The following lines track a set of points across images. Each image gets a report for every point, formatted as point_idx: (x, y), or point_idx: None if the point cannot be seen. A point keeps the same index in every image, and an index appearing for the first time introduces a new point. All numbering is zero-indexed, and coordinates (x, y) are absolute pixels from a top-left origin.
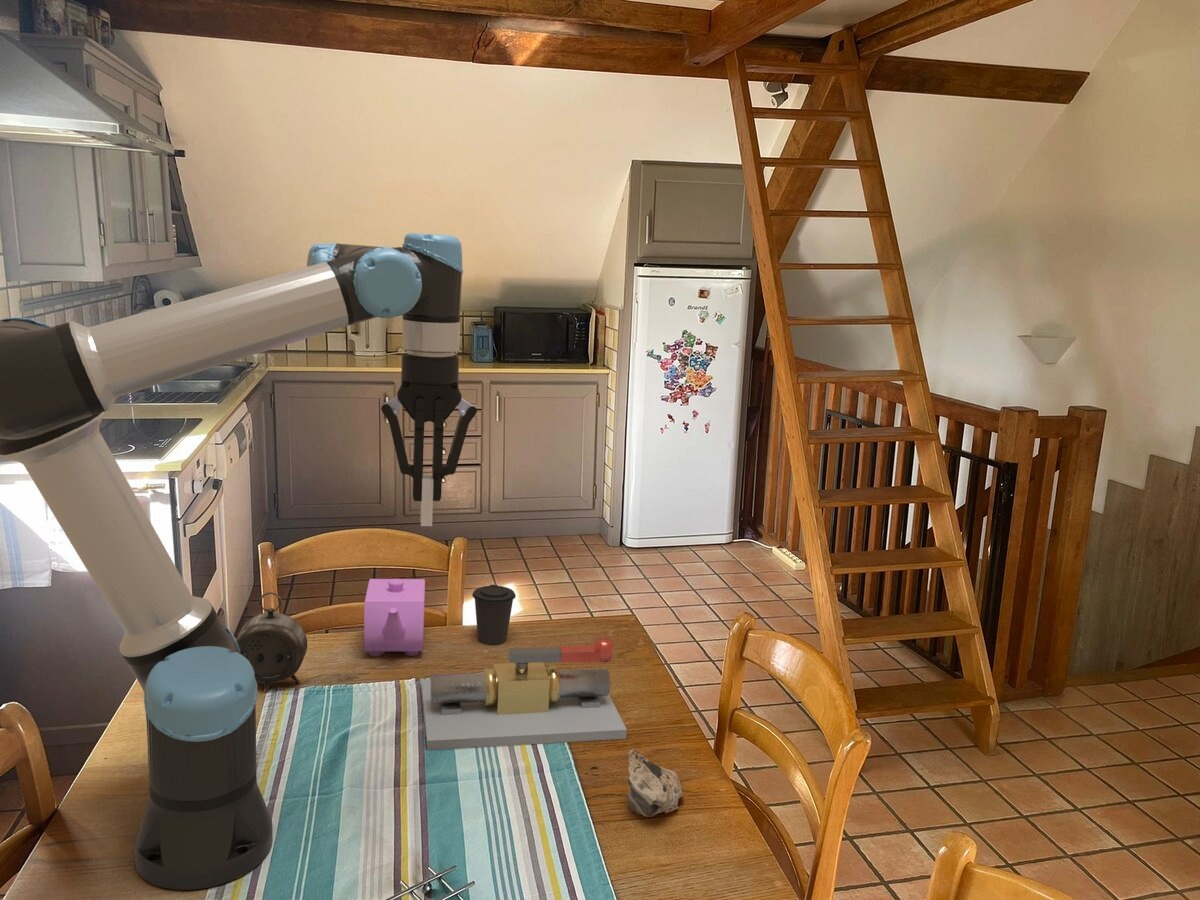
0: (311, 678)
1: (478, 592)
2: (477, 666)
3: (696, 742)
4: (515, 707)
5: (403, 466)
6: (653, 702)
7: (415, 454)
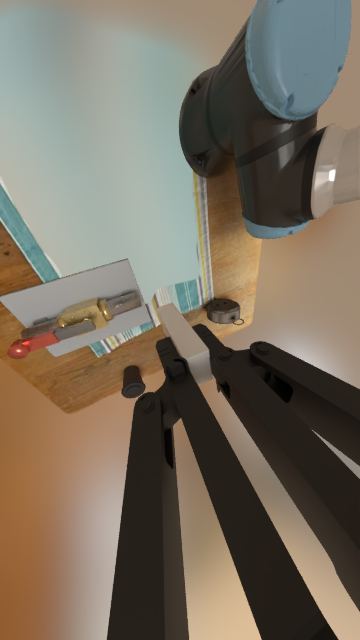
0: (199, 313)
1: (142, 387)
2: (129, 346)
3: None
4: (86, 301)
5: (272, 354)
6: (4, 342)
7: (276, 399)
